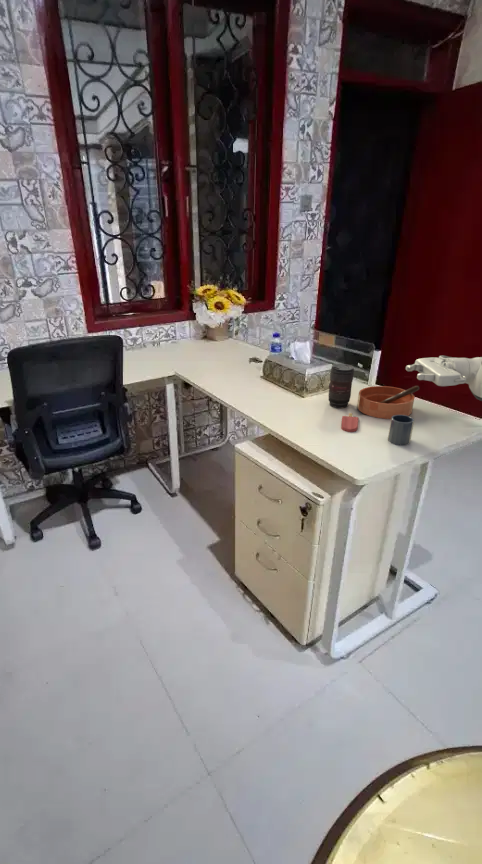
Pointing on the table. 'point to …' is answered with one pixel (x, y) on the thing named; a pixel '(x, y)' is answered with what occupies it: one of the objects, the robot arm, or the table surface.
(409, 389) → the stick
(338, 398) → the camera lens
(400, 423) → the cup
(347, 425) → the popsicle
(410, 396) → the bowl
